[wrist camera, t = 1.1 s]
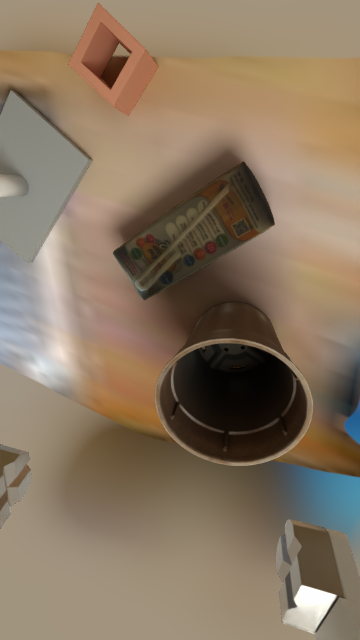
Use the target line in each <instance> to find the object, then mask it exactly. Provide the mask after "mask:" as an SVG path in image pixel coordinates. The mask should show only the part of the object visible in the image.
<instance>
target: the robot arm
mask: <svg viewBox="0 0 360 640" xmlns="http://www.w3.org/2000/svg"><path fill="white" fill-rule="evenodd" d="M29 460H30V458H29V452H26V451H22V450H19V449H15V448H11V447H8V446H4V445H1V444H0V528H1V527H2V526H3V524H4V523H5V521H6V520H7V519H8V517H9V516H10V507H11V506H12V505H14V504H16V503H17V502H19V501H20V500H21V499H22V497H23V496H24V494H25V493H26V491H27V489H28V486H29V484H30V481H31V469H30V468H29V466H28V465H27V463H28V461H29ZM285 533H286V534H284V535H282V536H281V537H280V539H279V542H278V547H277V555H276V556H277V557H276V560H277V561H276V563H277V574H278V575H279V577H280V578H281V580H282V582H283V584H282V587H281V589H280V591H279V598H280V609H281V619H282V623H285V624H287V625H291V626H294V627H297V628H300V629H303V630H306V631H309V632H312V633H315V637H316V639H317V640H360V577H359V574H358V570H357V567H356V564H355V560H354V557H353V554H352V550H351V547H350V544H349V540H348V538H347V536H346V535H345V534H344V533H342V532H338V531H334V530H330V529H325V528H324V527H320V526H316V525H312V524H308V523H304V522H300V521H295V520H291V519H289V520H288V521H287V523H286V525H285Z"/></svg>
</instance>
